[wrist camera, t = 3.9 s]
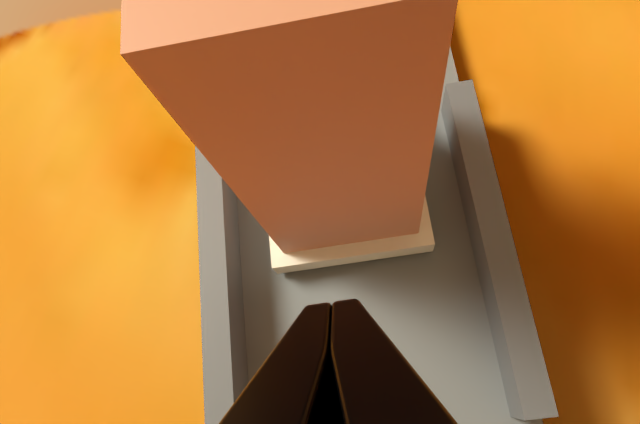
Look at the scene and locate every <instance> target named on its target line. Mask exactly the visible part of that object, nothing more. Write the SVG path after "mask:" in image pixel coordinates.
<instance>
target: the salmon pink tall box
mask: <svg viewBox="0 0 640 424" xmlns="http://www.w3.org/2000/svg"><path fill="white" fill-rule="evenodd" d="M457 2H458V0H122V7H121V51H120V54H121V55H122V57H123V58H124V59H125V60H126V62H127V63H128V64H129V65H130V66H131V68H132V69H133V70H134V71H135V73H136V74H137V75H138V76H139V77H140V79H141V80H142V81H143V82H144V84H145V85H146V86H147V87H148V88H149V90H150V91H151V92H152V93H153V94H154V96H155V97H156V98H157V99H158V101H159V102H160V103H161V104H162V105H163V107H164V108H165V109H166V110H167V112H168V113H169V114H170V115H171V116H172V118H173V119H174V120H175V121H176V123H177V124H178V125H179V126H180V127H181V129H182V130H183V131H184V132H185V133H186V135H187V136H188V137H189V138H190V140H191V141H192V142H193V143H194V144H195V146H196V147H197V148H198V149H199V151H200V152H201V153H202V154H203V155H204V157H205V158H206V159H207V160H208V162H209V163H210V164H211V165H212V166H213V168H214V169H215V170H216V171H217V173H218V174H219V175H220V176H221V177H222V179H223V180H224V181H225V182H226V183H227V185H228V186H229V187H230V188H231V190H232V191H233V192H234V193H235V194H236V196H237V197H238V198H239V199H240V201H241V202H242V203H243V204H244V205H245V207H246V208H247V209H248V210H249V212H250V213H251V214H252V215H253V216H254V218H255V219H256V220H257V221H258V223H259V224H260V225H261V226H262V227H263V229H264V230H265V231H266V232H267V233H268V235H269V242H270V254H271V266H272V269H273V270H274V271H275V272H276V273H277V274H281V273H288V272H294V271H301V270H308V269H315V268H322V267H329V266H336V265H342V264H349V263H356V262H363V261H370V260H377V259H383V258H390V257H397V256H404V255H411V254H418V253H425V252H431V251H433V250H434V246H435V241H434V236H433V231H432V226H431V221H430V216H429V211H428V206H427V201H426V197H425V192H426V186H427V180H428V174H429V168H430V163H431V157H432V151H433V145H434V139H435V133H436V127H437V121H438V115H439V109H440V103H441V97H442V91H443V85H444V79H445V73H446V68H447V62H448V56H449V50H450V44H451V38H452V32H453V26H454V20H455V14H456V8H457Z"/></svg>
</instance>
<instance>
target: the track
mask: <svg viewBox="0 0 640 424" xmlns="http://www.w3.org/2000/svg"><path fill="white" fill-rule="evenodd" d="M195 155H196V183H197V212H198V240H199V269H200V297H201V326H202V354H203V383H204V411H205V424H219V423H220V421H221V420H222V418H223V417H224V416H225V414H226V413H227V412H228V410H229V409H230V408H231V406H232V405H233V404H234V402H235V401H236V399H237V398H238V397H239V395H240V394H241V393H242V391H243V390H244V389H245V387H246V386H247V385H248V383H249V382H250V380H251V379H252V378H253V376H254V375H255V374H256V372H257V371H258V370H259V368H260V367H261V366H262V364H263V363H264V361H265V360H266V359H267V357H268V356H269V355H270V353H271V352H272V351H273V349H274V348H275V347H276V345H277V344H278V343H279V341H280V340H281V338H282V337H283V336H284V334H285V333H286V332H287V330H288V329H289V328H290V326H291V325H292V324H293V322H294V321H295V319H296V318H297V317H298V315H299V314H300V313H301V311H302V310H303V309H304V307H306V306H307V305H312V304H319V303H326V302H328V303H330V304H331V305H332V304H333V303H334V302H335V301H340V300H347V299H358V300H359V301H360V302H361V304H362V305H363V306H364V307H365V309H366V310H367V311H368V312H369V314H370V315H371V316H372V317H373V319H374V320H375V321H376V322H377V324H378V325H379V326H380V327H381V329H382V330H383V331H384V332H385V334H386V335H387V336H388V337H389V339H390V340H391V341H392V342H393V344H394V345H395V346H396V347H397V348H398V350H399V351H400V352H401V353H402V355H403V356H404V357H405V358H406V360H407V361H408V362H409V363H410V365H411V366H412V367H413V368H414V370H415V371H416V372H417V373H418V375H419V376H420V377H421V378H422V380H423V381H424V382H425V383H426V385H427V386H428V387H429V388H430V390H431V391H432V392H433V393H434V395H435V396H436V397H437V398H438V399H439V401H440V402H441V403H442V404H443V406H444V407H445V408H446V409H447V411H448V412H449V413H450V414H451V416H452V417H453V418H454V419H455V421H456V422H457V423H458V424H543V421H542V419H543V418H551V417H559V415H558V411H557V407H556V403H555V399H554V395H553V392H552V388H551V384H550V380H549V376H548V372H547V368H546V364H545V360H544V357H543V353H542V349H541V345H540V341H539V337H538V333H537V329H536V325H535V322H534V318H533V314H532V310H531V306H530V302H529V298H528V294H527V290H526V287H525V283H524V279H523V275H522V271H521V267H520V263H519V259H518V255H517V252H516V248H515V244H514V240H513V236H512V232H511V228H510V224H509V220H508V217H507V213H506V209H505V205H504V201H503V197H502V193H501V189H500V185H499V182H498V178H497V174H496V170H495V166H494V162H493V158H492V154H491V150H490V147H489V143H488V139H487V135H486V131H485V127H484V123H483V119H482V115H481V112H480V108H479V104H478V100H477V96H476V92H475V88H474V84H473V80H466V81H460V82H459V80H458V75H457V71H456V67H455V63H454V59H453V55H452V51H451V47H450V50H449V56H448V62H447V68H446V73H445V79H444V85H443V91H442V97H441V103H440V109H439V115H438V121H437V127H436V133H435V139H434V145H433V151H432V157H431V163H430V168H429V174H428V180H427V186H426V192H425V197H426V201H427V206H428V211H429V216H430V221H431V226H432V231H433V236H434V241H435V246H434V250H433V251H431V252H425V253H418V254H411V255H404V256H397V257H390V258H383V259H377V260H370V261H363V262H356V263H349V264H342V265H336V266H329V267H322V268H315V269H308V270H301V271H294V272H288V273H281V274H277V273H276V272H275V271H274V270H273V269H272V266H271V254H270V242H269V235H268V233H267V232H266V231H265V230H264V229H263V227H262V226H261V225H260V224H259V223H258V221H257V220H256V219H255V218H254V216H253V215H252V214H251V213H250V212H249V210H248V209H247V208H246V207H245V205H244V204H243V203H242V202H241V201H240V199H239V198H238V197H237V196H236V194H235V193H234V192H233V191H232V190H231V188H230V187H229V186H228V185H227V183H226V182H225V181H224V180H223V179H222V177H221V176H220V175H219V174H218V173H217V171H216V170H215V169H214V168H213V166H212V165H211V164H210V163H209V162H208V160H207V159H206V158H205V157H204V155H203V154H202V153H201V152H200V151H199V149H198V148H197V147H196V146H195Z"/></svg>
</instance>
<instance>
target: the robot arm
mask: <svg viewBox="0 0 640 424" xmlns="http://www.w3.org/2000/svg"><path fill="white" fill-rule="evenodd" d="M219 424H458V423H457V422H456V421H455V419H454V418H453V417H452V416H451V414H450V413H449V412H448V411H447V409H446V408H445V407H444V406H443V404H442V403H441V402H440V401H439V399H438V398H437V397H436V396H435V395H434V393H433V392H432V391H431V390H430V388H429V387H428V386H427V385H426V383H425V382H424V381H423V380H422V378H421V377H420V376H419V375H418V373H417V372H416V371H415V370H414V368H413V367H412V366H411V365H410V363H409V362H408V361H407V360H406V358H405V357H404V356H403V355H402V353H401V352H400V351H399V350H398V348H397V347H396V346H395V345H394V344H393V342H392V341H391V340H390V339H389V337H388V336H387V335H386V334H385V332H384V331H383V330H382V329H381V327H380V326H379V325H378V324H377V322H376V321H375V320H374V319H373V317H372V316H371V315H370V314H369V312H368V311H367V310H366V309H365V307H364V306H363V305H362V304H361V302H360V301H359V300H358V299H347V300H340V301H335V302H334V303H333V304H332V305H331V304H330V303H328V302H326V303H319V304H312V305H307V306H306V307H304V309H303V310H302V311H301V313H300V314H299V315H298V317H297V318H296V319H295V321H294V322H293V324H292V325H291V326H290V328H289V329H288V330H287V332H286V333H285V334H284V336H283V337H282V338H281V340H280V341H279V343H278V344H277V345H276V347H275V348H274V349H273V351H272V352H271V353H270V355H269V356H268V357H267V359H266V360H265V361H264V363H263V364H262V366H261V367H260V368H259V370H258V371H257V372H256V374H255V375H254V376H253V378H252V379H251V380H250V382H249V383H248V385H247V386H246V387H245V389H244V390H243V391H242V393H241V394H240V395H239V397H238V398H237V399H236V401H235V402H234V404H233V405H232V406H231V408H230V409H229V410H228V412H227V413H226V414H225V416H224V417H223V418H222V420H221V421H220V423H219Z"/></svg>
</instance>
